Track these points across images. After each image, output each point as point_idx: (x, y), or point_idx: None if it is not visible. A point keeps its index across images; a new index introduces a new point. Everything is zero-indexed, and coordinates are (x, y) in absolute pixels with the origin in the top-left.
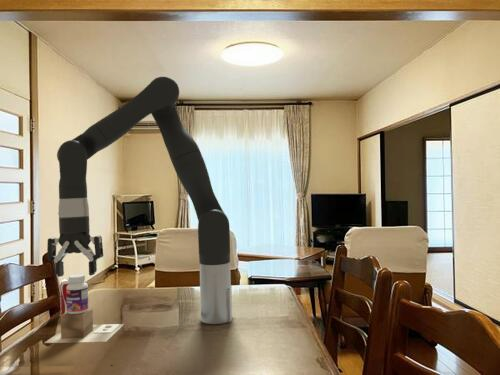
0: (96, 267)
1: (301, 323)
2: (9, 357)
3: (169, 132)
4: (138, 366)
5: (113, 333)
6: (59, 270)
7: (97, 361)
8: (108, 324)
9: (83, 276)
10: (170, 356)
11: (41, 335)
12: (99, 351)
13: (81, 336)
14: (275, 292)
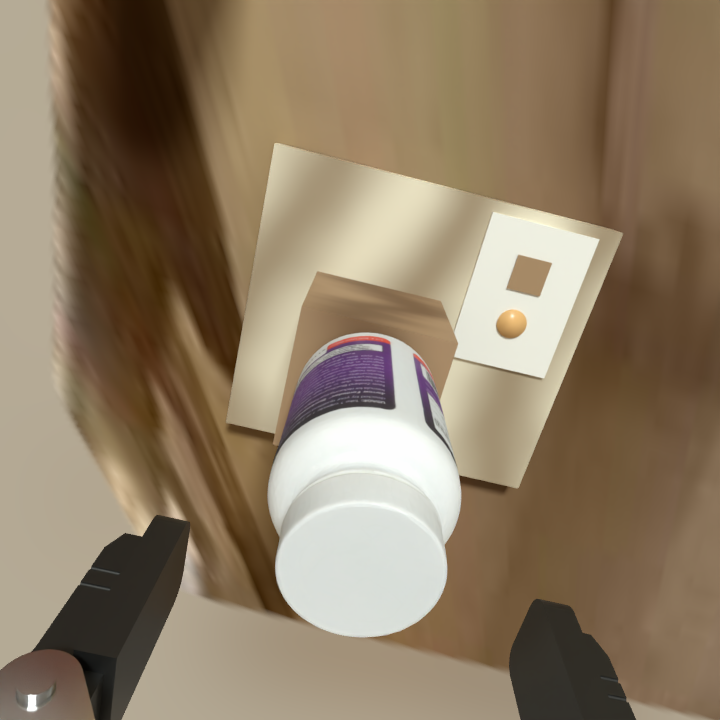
0: (620, 690)
1: None
2: (125, 480)
3: None
4: (623, 674)
5: (554, 387)
6: (149, 653)
7: (485, 605)
8: (528, 225)
9: (437, 599)
10: None
11: (143, 211)
12: (487, 520)
13: None
14: None
